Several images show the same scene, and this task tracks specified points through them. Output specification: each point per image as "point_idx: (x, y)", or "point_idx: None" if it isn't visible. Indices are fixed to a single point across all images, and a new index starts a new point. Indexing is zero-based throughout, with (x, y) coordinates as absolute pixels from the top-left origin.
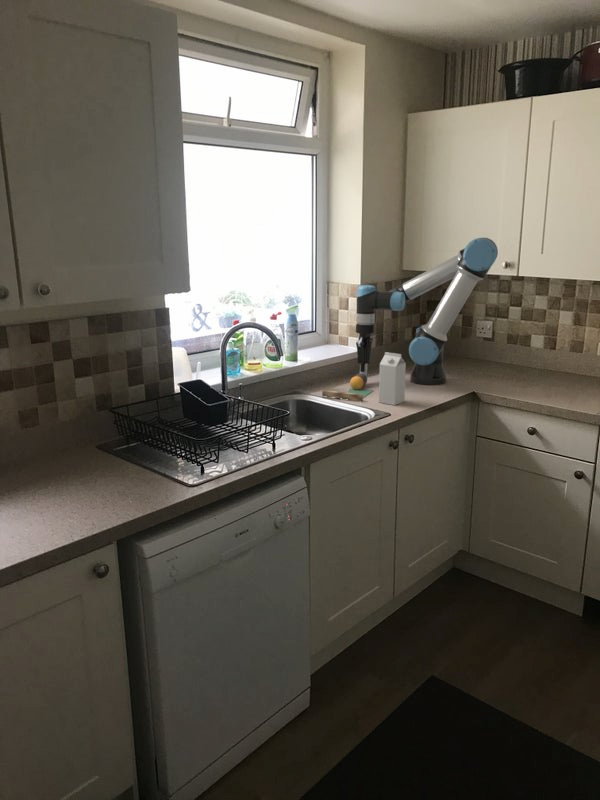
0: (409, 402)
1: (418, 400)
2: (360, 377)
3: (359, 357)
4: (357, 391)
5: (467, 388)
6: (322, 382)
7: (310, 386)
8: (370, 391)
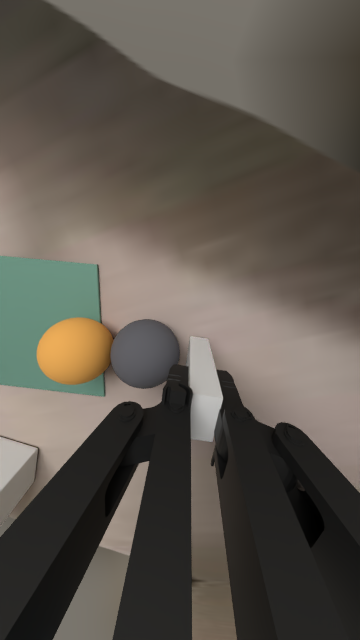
0: (36, 489)
1: None
2: (70, 381)
3: (57, 497)
4: None
5: (225, 574)
6: (165, 107)
7: (42, 64)
8: (84, 391)
